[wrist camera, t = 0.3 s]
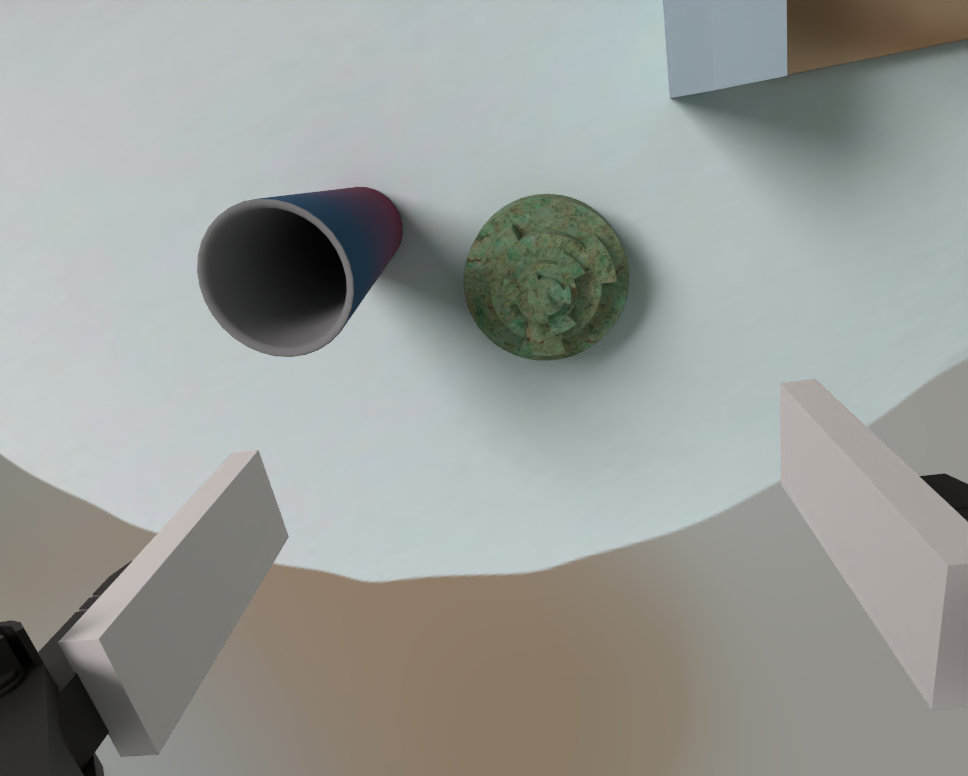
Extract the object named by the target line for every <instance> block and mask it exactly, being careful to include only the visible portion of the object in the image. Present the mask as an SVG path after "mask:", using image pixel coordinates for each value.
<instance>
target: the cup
mask: <svg viewBox="0 0 968 776" xmlns="http://www.w3.org/2000/svg"><path fill="white" fill-rule="evenodd" d="M401 239H402V222H401V217H400V215H399V213H398V210H397V209H396V207H395V206H394V204H393V203H392V202H391V201H390V200H389V199H388V198H387V197H386V196H385V195H383V194H382V193H381V192H378V191H376V190H374V189H371V188H367V187H354V188H345V189H337V190H328V191H320V192H311V193H303V194H294V195H286V196H277V197H269V198H260V199H254V200H249V201H244V202H241V203H239V204H237V205H234V206H232V207H230V208H228V209H227V210H226V211H224V212H223V213H222V214H220V215H219V216H218V217H217V218H216V219H215V220H214V221H213V223H212V224H211V225H210V226H209V227H208V229H207V231H206V233H205V235H204V237H203V239H202V241H201V245H200V249H199V253H198V264H197V272H198V279H199V286H200V289H201V292H202V295H203V298H204V300H205V302H206V304H207V306H208V308H209V310H210V311H211V313H212V315H213V316H214V318H215V319H216V320H217V321H218V323H219V324H220V325H221V326H222V328H223V329H225V330H226V331H227V332H228V333H229V334H230V335H231V336H232V337H233V338H235V339H236V340H238V341H239V342H241V343H242V344H244V345H246V346H247V347H249V348H252V349H254V350H256V351H259V352H261V353H265V354H269V355H273V356H284V357H293V356H300V355H306V354H309V353H311V352H314V351H317V350H319V349H321V348H322V347H324V346H325V345H327V344H329V343H330V342H331V341H332V340H333V339H334V338H335V337H336V336H337V335H338V334H339V333H340V332H341V330H342V329H343V327H344V326H345V325H346V323H347V322H348V320H349V319H350V317H351V316H352V314H353V313H354V312H355V310H356V309H357V307H358V306H359V304H360V303H361V301H362V300H363V299H364V297H365V296H366V294H367V293H368V291H369V290H370V288H371V287H372V286H373V284H374V283H375V281H376V280H377V278H378V277H379V275H380V274H381V273H382V271H383V270H384V268H385V267H386V265H387V264H388V263H389V261H390V260H391V258H392V257H393V255H394V254H395V252H396V251H397V249H398V248H399V245H400V242H401Z"/></svg>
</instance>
